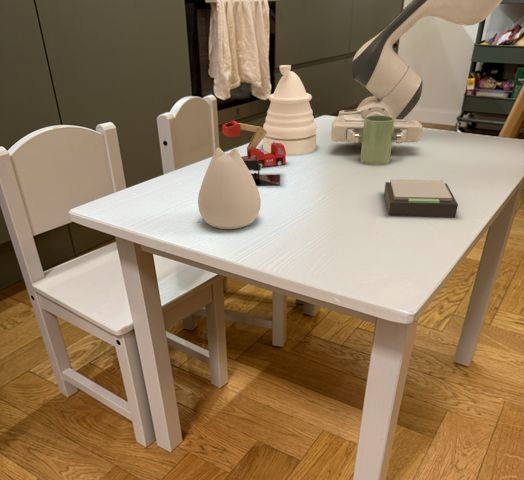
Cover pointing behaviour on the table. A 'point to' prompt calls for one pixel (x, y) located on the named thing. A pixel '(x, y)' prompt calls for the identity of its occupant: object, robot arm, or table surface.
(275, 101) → the honey pot
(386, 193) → the scale
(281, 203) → the table surface
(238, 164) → the toy character
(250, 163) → the build plate
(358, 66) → the robot arm
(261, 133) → the toy fire truck
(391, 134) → the cup
